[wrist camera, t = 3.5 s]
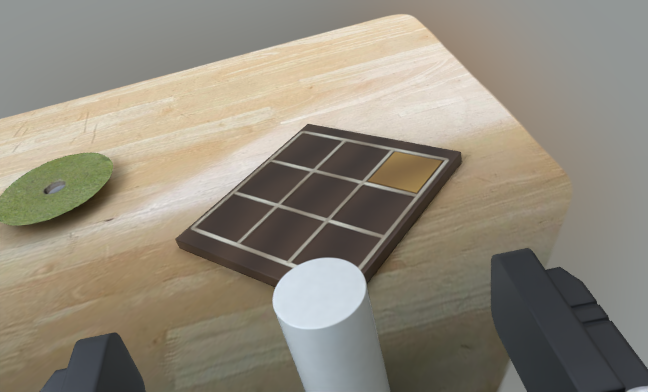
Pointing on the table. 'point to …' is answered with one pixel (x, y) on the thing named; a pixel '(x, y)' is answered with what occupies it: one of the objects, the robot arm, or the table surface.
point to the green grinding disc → (54, 188)
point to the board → (321, 204)
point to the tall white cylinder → (330, 327)
